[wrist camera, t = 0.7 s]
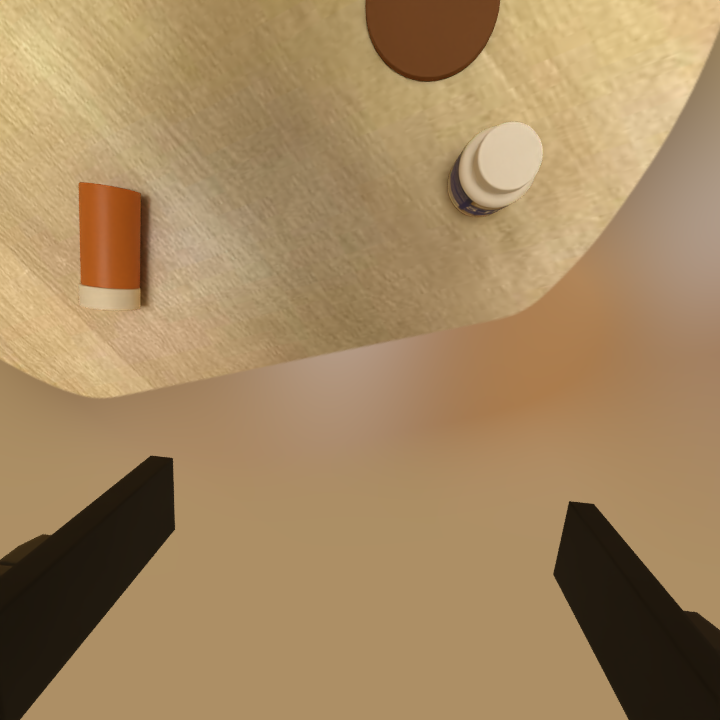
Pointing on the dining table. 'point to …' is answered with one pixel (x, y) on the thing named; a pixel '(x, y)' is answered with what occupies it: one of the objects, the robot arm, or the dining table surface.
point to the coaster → (430, 34)
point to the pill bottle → (495, 169)
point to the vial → (109, 247)
